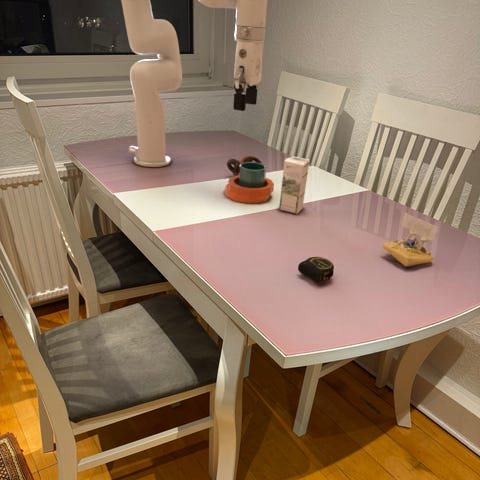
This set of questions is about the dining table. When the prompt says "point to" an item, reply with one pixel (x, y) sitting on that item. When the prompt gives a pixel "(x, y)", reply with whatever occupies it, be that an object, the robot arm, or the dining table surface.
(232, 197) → the orange ring
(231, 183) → the orange ring
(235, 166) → the broken clay pot
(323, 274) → the tape measure
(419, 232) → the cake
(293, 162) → the syrup box
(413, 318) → the dining table surface
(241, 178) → the tumbler
